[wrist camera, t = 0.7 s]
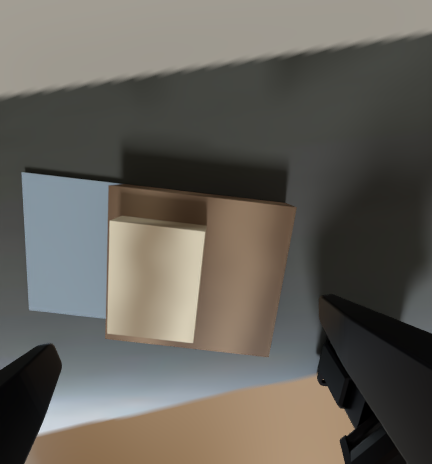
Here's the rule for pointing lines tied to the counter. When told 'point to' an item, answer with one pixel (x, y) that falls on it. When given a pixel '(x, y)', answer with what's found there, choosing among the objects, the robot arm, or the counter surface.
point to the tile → (154, 278)
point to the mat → (66, 244)
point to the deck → (221, 262)
